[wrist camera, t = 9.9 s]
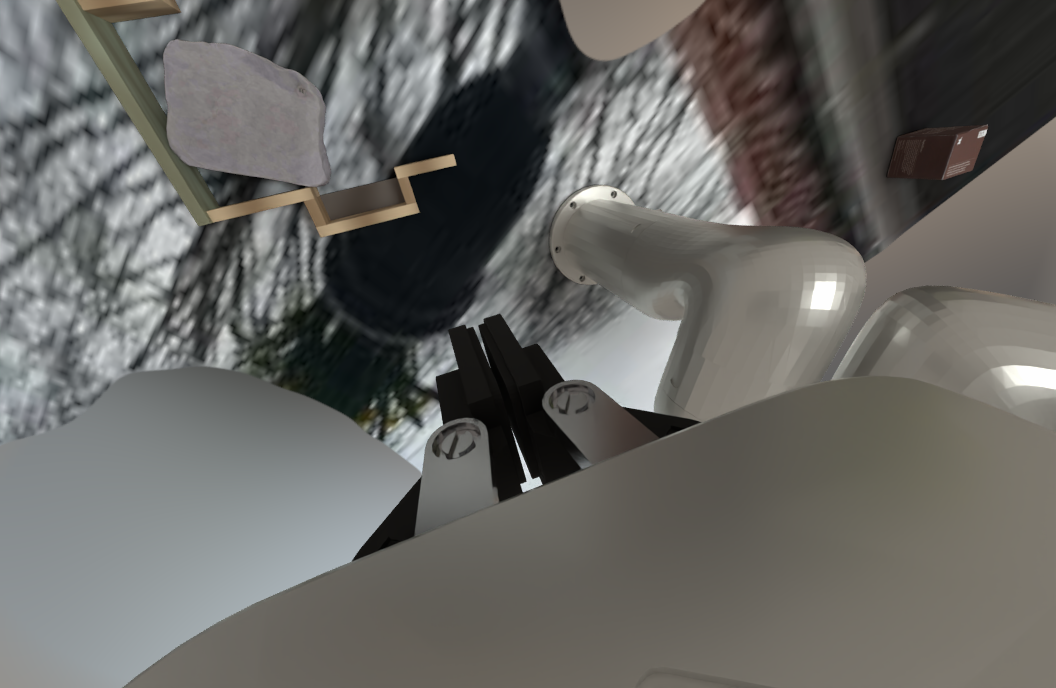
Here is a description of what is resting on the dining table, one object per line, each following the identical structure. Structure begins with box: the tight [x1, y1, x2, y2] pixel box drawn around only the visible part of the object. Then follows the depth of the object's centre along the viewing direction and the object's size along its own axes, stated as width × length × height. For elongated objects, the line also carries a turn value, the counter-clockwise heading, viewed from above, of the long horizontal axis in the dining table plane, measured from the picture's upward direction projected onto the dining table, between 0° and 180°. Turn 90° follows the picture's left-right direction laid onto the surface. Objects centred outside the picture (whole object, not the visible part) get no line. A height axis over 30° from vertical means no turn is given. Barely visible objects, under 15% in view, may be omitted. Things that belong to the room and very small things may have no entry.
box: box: [887, 125, 988, 180], centre depth 55 cm, size 6×6×7 cm
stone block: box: [163, 39, 331, 187], centre depth 33 cm, size 12×5×10 cm
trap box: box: [56, 0, 456, 237], centre depth 33 cm, size 24×23×4 cm
